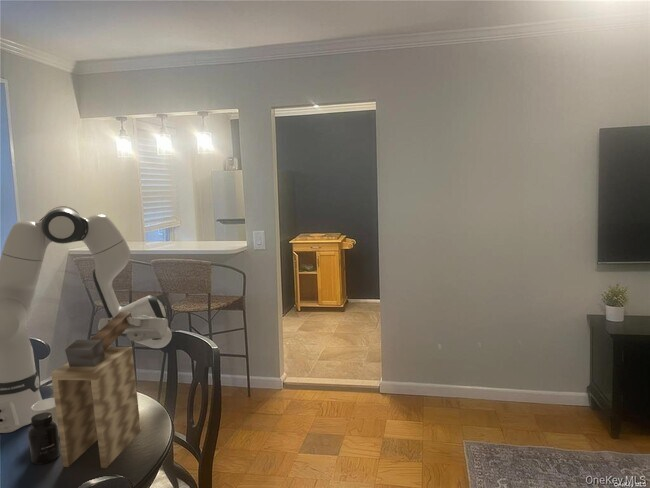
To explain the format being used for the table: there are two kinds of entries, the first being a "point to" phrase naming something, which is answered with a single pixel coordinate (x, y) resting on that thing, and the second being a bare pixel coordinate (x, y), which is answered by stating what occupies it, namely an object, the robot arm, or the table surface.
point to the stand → (97, 406)
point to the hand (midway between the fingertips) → (120, 320)
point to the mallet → (96, 343)
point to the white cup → (46, 408)
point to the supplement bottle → (43, 439)
